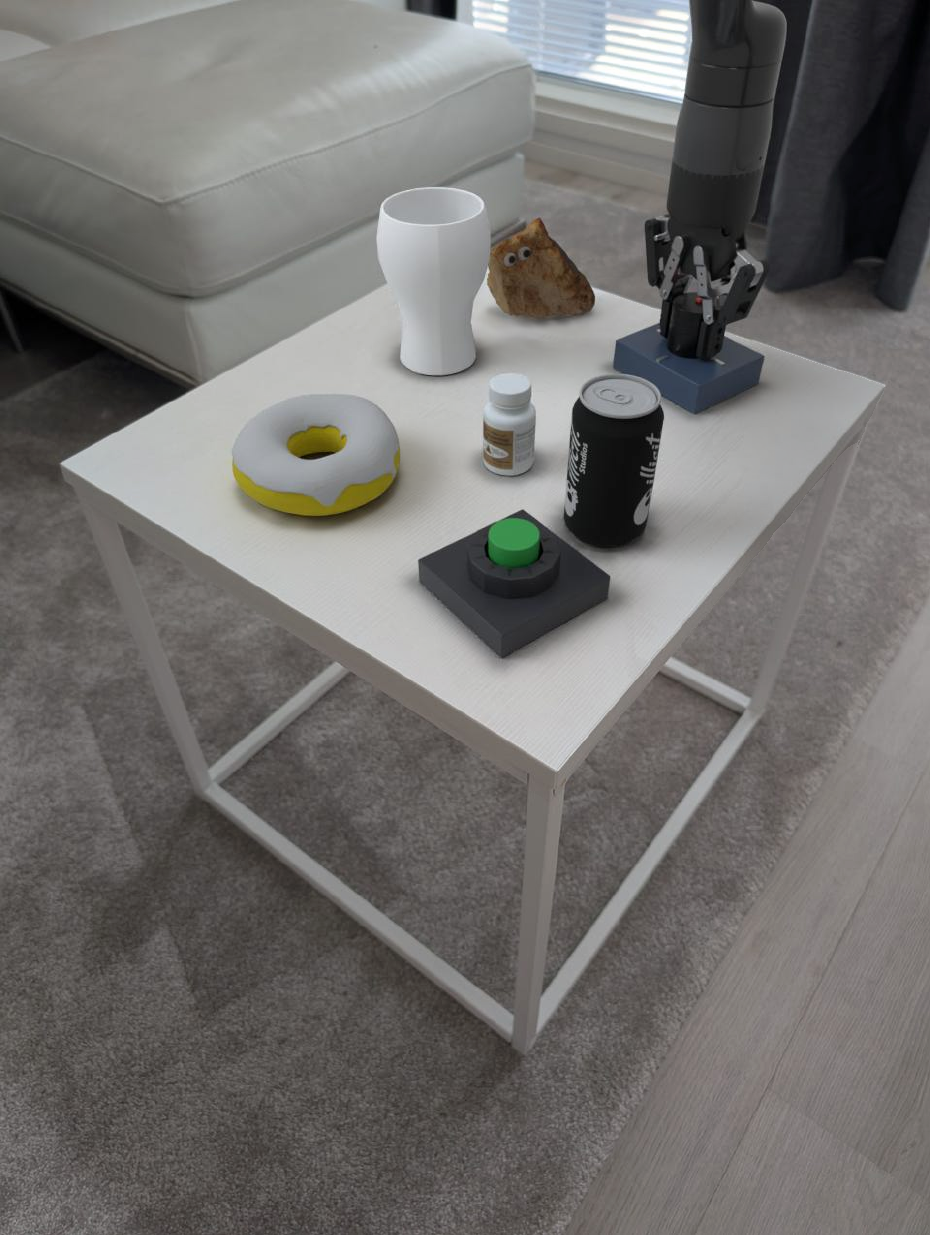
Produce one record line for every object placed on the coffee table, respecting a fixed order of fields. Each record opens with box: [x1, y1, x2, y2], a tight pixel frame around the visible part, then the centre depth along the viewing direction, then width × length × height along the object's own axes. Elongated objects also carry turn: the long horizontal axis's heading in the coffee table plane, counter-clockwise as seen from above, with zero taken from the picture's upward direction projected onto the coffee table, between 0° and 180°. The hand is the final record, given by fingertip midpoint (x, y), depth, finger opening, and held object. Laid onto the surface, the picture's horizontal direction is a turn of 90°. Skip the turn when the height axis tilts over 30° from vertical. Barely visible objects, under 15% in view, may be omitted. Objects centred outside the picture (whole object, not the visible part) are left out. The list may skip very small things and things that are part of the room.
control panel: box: [612, 322, 766, 415], centre depth 88 cm, size 11×9×3 cm
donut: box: [231, 393, 401, 517], centre depth 76 cm, size 14×14×5 cm
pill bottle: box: [482, 372, 537, 477], centre depth 76 cm, size 4×4×8 cm
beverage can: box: [563, 373, 665, 549], centre depth 68 cm, size 7×7×12 cm
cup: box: [375, 186, 492, 376], centre depth 87 cm, size 11×11×15 cm
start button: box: [488, 518, 540, 569], centre depth 64 cm, size 4×4×2 cm
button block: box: [417, 508, 611, 658], centre depth 66 cm, size 10×10×4 cm
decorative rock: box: [486, 216, 596, 319], centre depth 96 cm, size 12×6×11 cm, turn 105°
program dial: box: [666, 291, 719, 358], centre depth 86 cm, size 4×4×5 cm
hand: (688, 345), depth 87 cm, fingers closed on program dial, 4 cm apart
